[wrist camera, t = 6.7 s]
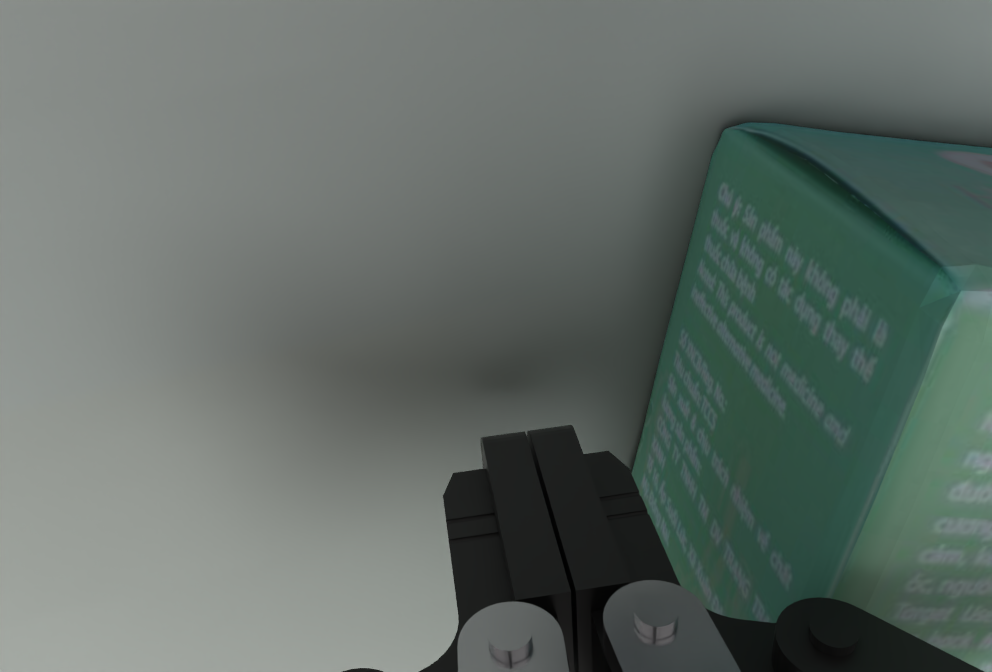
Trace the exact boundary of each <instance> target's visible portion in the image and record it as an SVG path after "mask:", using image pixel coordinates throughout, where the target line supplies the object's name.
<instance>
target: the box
mask: <svg viewBox="0 0 992 672" xmlns="http://www.w3.org/2000/svg"><path fill="white" fill-rule="evenodd" d="M632 476H633V478H634V481H635V483H636V485H637V487H638V490H639V494H640V496H641V497H642V499H643V501H644V503H645V506H646V508H647V512H648V514H649V515H650V517H651V519H652V522H653V524H654V526H655V529H656V531H657V533H658V535H659V538H660V540H661V542H662V545H663V547H664V549H665V551H666V554H667V556H668V558H669V561H670V563H671V565H672V567H673V570H674V572H675V574H676V577H677V579H678V581H679V583H680V585H681V587H683V588H685V589H686V590H688V591H690V592H691V593H692V594H694V595H695V596H696V597H697V598H698V599H699V600H700V601H701V602H702V604H703V605H704V607H705V608H706V609H708V610H710V611H712V612H715V613H717V614H720V615H723V616H727V617H730V618H736V619H743V620H752V621H761V622H770V623H776V622H777V619H778V617H779V615H780V614H781V612H782V611H783V610H784V609H785V608H786V607H787V606H789V605H790V604H792V603H794V602H796V601H799V600H802V599H807V598H817V597H821V598H831V599H836V600H840V601H843V602H847V603H849V604H852V605H854V606H856V607H858V608H860V609H862V610H864V611H866V612H868V613H870V614H872V615H874V616H876V617H878V618H880V619H882V620H884V621H886V622H888V623H890V624H892V625H894V626H896V627H898V628H900V629H901V630H903V631H905V632H907V633H909V634H911V635H913V636H915V637H917V638H919V639H921V640H923V641H925V642H927V643H929V644H931V645H933V646H935V647H937V648H939V649H941V650H943V651H945V652H947V653H949V654H951V655H953V656H955V657H957V658H959V659H961V660H963V661H964V662H966V663H968V664H970V665H972V666H974V667H976V668H978V669H980V670H982V671H984V672H992V148H988V147H978V146H968V145H958V144H947V143H937V142H927V141H918V140H908V139H899V138H890V137H881V136H872V135H863V134H853V133H844V132H835V131H827V130H820V129H813V128H806V127H799V126H792V125H785V124H778V123H753V122H748V123H744V124H740V125H737V126H733V127H730V128H726V129H725V130H724V131H723V133H722V135H721V138H720V140H719V142H718V144H717V146H716V148H715V150H714V152H713V154H712V157H711V161H710V165H709V169H708V173H707V177H706V181H705V185H704V188H703V192H702V196H701V200H700V204H699V208H698V212H697V216H696V220H695V223H694V227H693V231H692V235H691V239H690V243H689V247H688V251H687V255H686V258H685V262H684V266H683V270H682V274H681V278H680V282H679V286H678V290H677V293H676V297H675V301H674V305H673V309H672V313H671V317H670V321H669V325H668V328H667V332H666V336H665V340H664V344H663V348H662V352H661V356H660V360H659V364H658V368H657V372H656V376H655V381H654V385H653V389H652V393H651V397H650V402H649V406H648V410H647V414H646V418H645V422H644V427H643V431H642V435H641V439H640V442H639V446H638V450H637V454H636V458H635V462H634V466H633V470H632Z"/></svg>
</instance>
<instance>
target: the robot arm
mask: <svg viewBox="0 0 992 672" xmlns="http://www.w3.org/2000/svg"><path fill="white" fill-rule="evenodd" d="M481 450H482V461H483V469H479V470H472V471H465V472H458V473H453V475H452V477H451V480H450V482H449V484H448V486H447V488H446V491H445V493H444V495H443V499H444V507H445V514H446V522H447V530H448V538H449V545H450V553H451V561H452V569H453V576H454V584H455V592H456V599H457V607H458V615H459V624H458V630H457V633H456V636H455V639H454V640H453V642H452V644H451V646H450V647H449V648H448V650H447V651H446V652H445V653H444V654H443V655H442V656H441V657H440V658H439V659H438V660H437V661H436V662H434V663H433V664H431V665H430V666H428V667H427V668H425V669H423V670H421V671H419V672H984V671H982V670H980V669H978V668H976V667H974V666H972V665H970V664H968V663H966V662H964V661H963V660H961V659H959V658H957V657H955V656H953V655H951V654H949V653H947V652H945V651H943V650H941V649H939V648H937V647H935V646H933V645H931V644H929V643H927V642H925V641H923V640H921V639H919V638H917V637H915V636H913V635H911V634H909V633H907V632H905V631H903V630H901V629H900V628H898V627H896V626H894V625H892V624H890V623H888V622H886V621H884V620H882V619H880V618H878V617H876V616H874V615H872V614H870V613H868V612H866V611H864V610H862V609H860V608H858V607H856V606H854V605H852V604H849V603H847V602H843V601H840V600H836V599H831V598H821V597H817V598H807V599H802V600H799V601H796V602H794V603H792V604H790V605H789V606H787V607H786V608H785V609H784V610H783V611H782V612H781V614H780V615H779V617H778V619H777V622H776V623H770V622H761V621H752V620H743V619H736V618H730V617H727V616H723V615H720V614H717V613H715V612H712V611H710V610H708V609H706V608H705V607H704V605H703V604H702V602H701V601H700V600H699V599H698V598H697V597H696V596H695V595H694V594H692V593H691V592H690V591H688V590H686V589H685V588H683V587H681V585H680V583H679V581H678V579H677V577H676V574H675V572H674V570H673V567H672V565H671V563H670V561H669V558H668V556H667V554H666V551H665V549H664V547H663V545H662V542H661V540H660V538H659V535H658V533H657V531H656V529H655V526H654V524H653V522H652V519H651V517H650V515H649V514H648V512H647V508H646V506H645V503H644V501H643V499H642V497H641V496H640V494H639V490H638V487H637V485H636V483H635V481H634V478H633V476H632V474H631V471H630V469H629V468H628V467H627V466H625V465H624V464H623V463H622V462H621V461H619V460H618V459H617V458H616V457H615V456H614V455H612V454H611V453H610V452H609V451H604V452H597V453H590V454H583V452H582V449H581V447H580V444H579V441H578V439H577V436H576V433H575V431H574V428H573V426H572V425H567V426H560V427H552V428H545V429H538V430H531V431H528V432H527V436H526V433H525V432H518V433H511V434H503V435H496V436H489V437H482V438H481ZM343 672H383V671H380V670H375V669H370V668H358V669H351V670H347V671H343Z"/></svg>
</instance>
